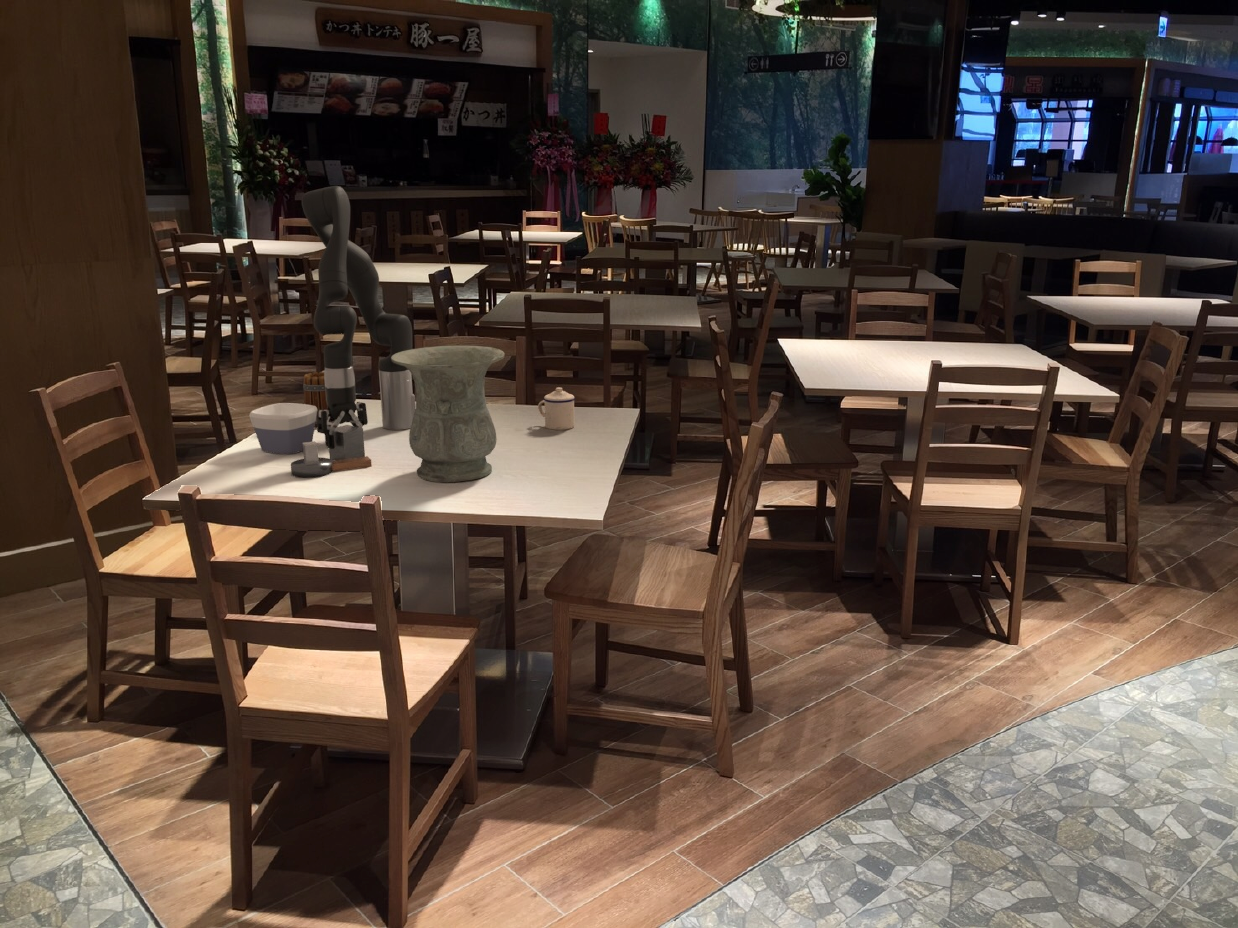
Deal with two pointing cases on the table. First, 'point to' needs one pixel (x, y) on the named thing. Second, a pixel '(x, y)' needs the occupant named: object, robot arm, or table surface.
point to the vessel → (451, 411)
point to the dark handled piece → (323, 463)
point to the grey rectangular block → (347, 443)
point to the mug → (315, 391)
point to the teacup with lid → (558, 410)
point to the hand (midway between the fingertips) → (344, 445)
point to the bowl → (284, 426)
